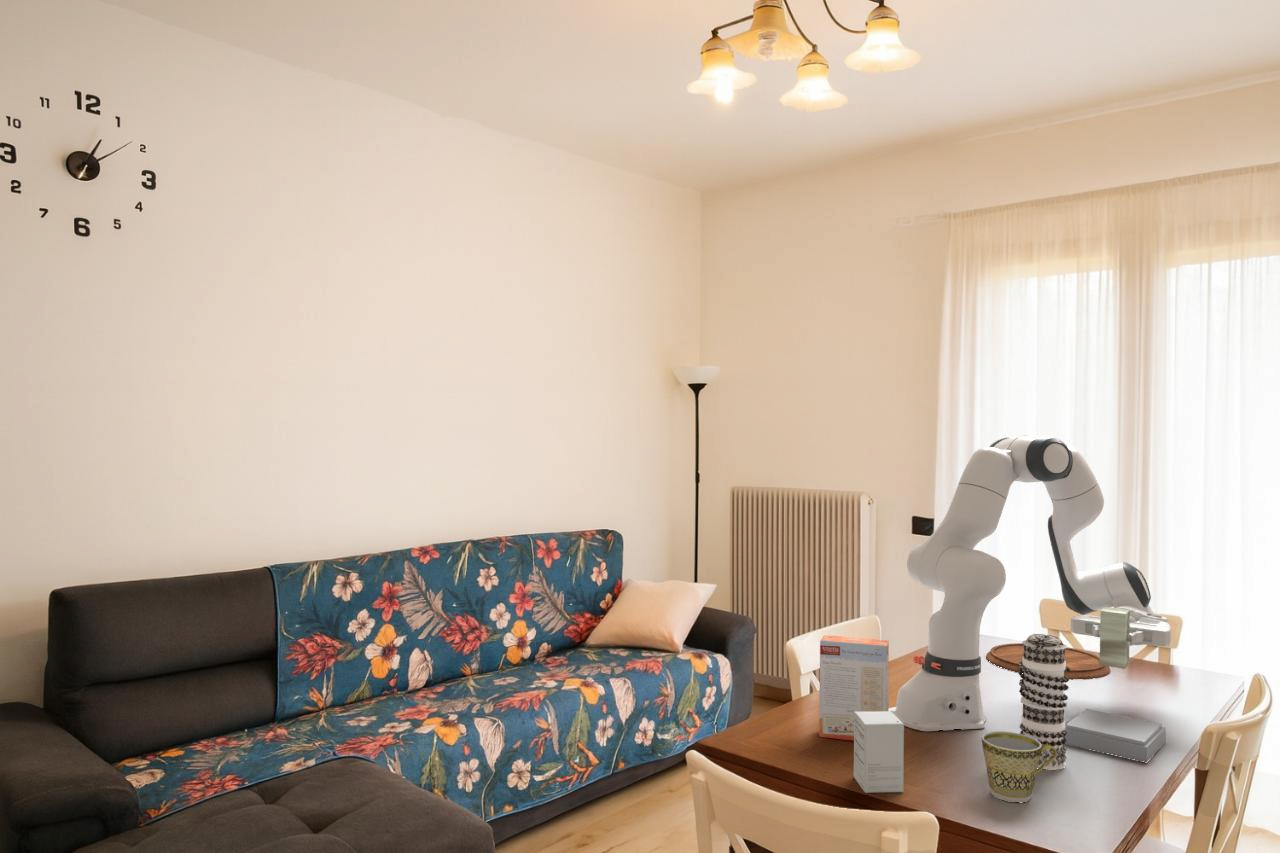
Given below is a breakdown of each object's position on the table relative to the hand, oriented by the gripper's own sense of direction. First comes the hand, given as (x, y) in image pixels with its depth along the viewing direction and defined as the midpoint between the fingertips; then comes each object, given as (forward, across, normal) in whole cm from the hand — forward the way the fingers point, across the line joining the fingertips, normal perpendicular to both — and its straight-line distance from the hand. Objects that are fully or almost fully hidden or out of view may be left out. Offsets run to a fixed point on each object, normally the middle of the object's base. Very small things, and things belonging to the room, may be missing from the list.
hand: (1114, 635), depth 197 cm
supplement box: (+63, -28, +22) cm, 72 cm away
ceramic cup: (+51, -6, +21) cm, 56 cm away
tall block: (-1, 0, +6) cm, 7 cm away
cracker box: (+42, -42, +22) cm, 63 cm away
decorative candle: (+31, -7, +21) cm, 38 cm away
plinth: (+10, +2, +21) cm, 23 cm away
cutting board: (-50, -26, +21) cm, 60 cm away
